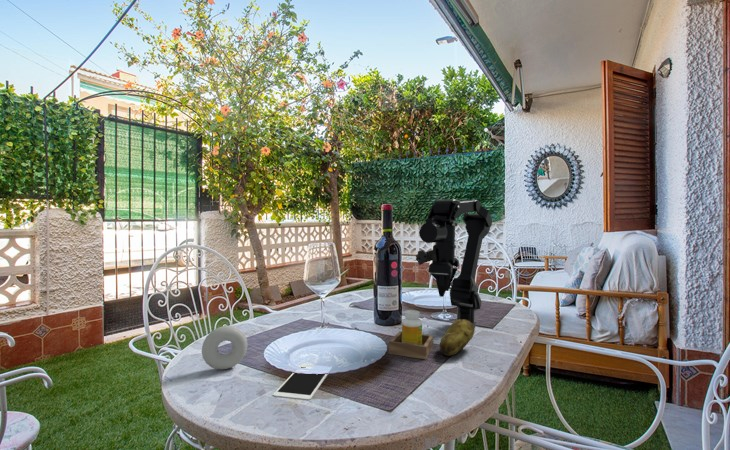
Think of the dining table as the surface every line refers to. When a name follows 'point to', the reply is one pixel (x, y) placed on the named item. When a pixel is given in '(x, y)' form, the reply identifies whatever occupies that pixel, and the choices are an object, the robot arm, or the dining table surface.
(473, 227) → the robot arm
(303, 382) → the cell phone
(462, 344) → the potato
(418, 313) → the supplement bottle
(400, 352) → the open wooden box
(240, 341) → the donut
